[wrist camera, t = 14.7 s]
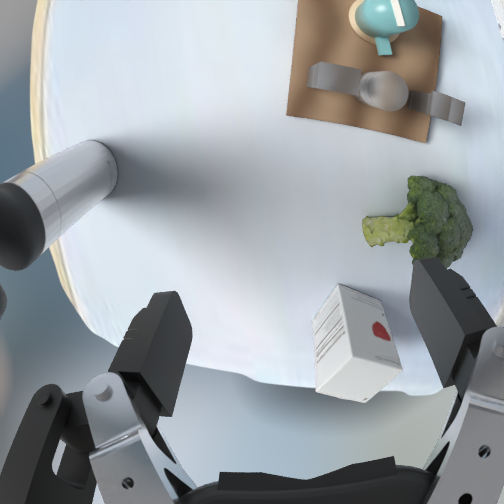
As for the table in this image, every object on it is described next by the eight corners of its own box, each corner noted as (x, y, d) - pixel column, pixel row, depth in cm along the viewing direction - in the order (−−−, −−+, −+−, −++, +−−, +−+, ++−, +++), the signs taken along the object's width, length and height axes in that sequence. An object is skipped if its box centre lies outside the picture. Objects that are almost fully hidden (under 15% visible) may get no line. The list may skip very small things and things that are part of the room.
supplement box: (382, 299, 48) (405, 370, 35) (352, 334, 52) (365, 404, 40) (337, 281, 47) (353, 356, 34) (309, 320, 51) (314, 393, 38)
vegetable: (347, 174, 36) (466, 159, 27) (376, 197, 46) (466, 189, 37) (350, 275, 35) (477, 272, 26) (378, 275, 45) (472, 272, 36)
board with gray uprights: (286, 114, 35) (289, 128, 25) (299, -19, 25) (307, -57, 15) (420, 140, 34) (467, 167, 24) (437, 17, 25) (487, 5, 15)
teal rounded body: (345, -14, 24) (360, -33, 17) (385, -14, 23) (407, -31, 17) (364, 56, 28) (384, 51, 22) (403, 54, 27) (429, 51, 21)
